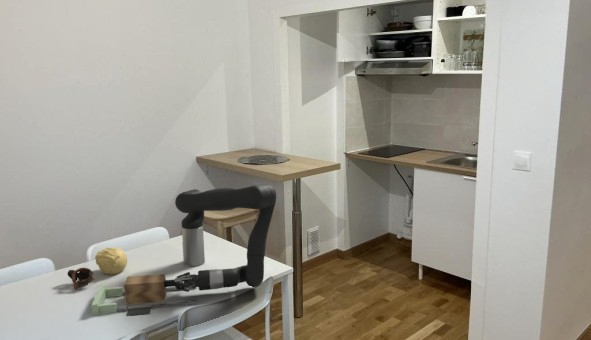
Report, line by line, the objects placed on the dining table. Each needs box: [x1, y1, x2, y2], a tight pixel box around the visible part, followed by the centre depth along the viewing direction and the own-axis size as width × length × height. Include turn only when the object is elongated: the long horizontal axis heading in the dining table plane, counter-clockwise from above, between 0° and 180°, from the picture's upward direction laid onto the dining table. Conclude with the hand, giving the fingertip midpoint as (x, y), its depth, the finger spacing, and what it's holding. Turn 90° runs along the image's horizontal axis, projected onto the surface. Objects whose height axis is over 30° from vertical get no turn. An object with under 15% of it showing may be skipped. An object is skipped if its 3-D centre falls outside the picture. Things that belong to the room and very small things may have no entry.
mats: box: [126, 305, 152, 317], centre depth 182 cm, size 8×22×1 cm, turn 11°
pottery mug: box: [67, 267, 95, 291], centre depth 195 cm, size 12×10×8 cm
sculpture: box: [94, 247, 128, 275], centre depth 207 cm, size 12×12×11 cm
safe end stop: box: [91, 284, 123, 316], centre depth 180 cm, size 8×16×4 cm, turn 11°
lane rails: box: [116, 286, 197, 313], centre depth 183 cm, size 28×14×1 cm, turn 101°
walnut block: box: [123, 273, 168, 305], centre depth 183 cm, size 14×7×8 cm, turn 99°
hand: (164, 283), depth 182 cm, fingers closed
